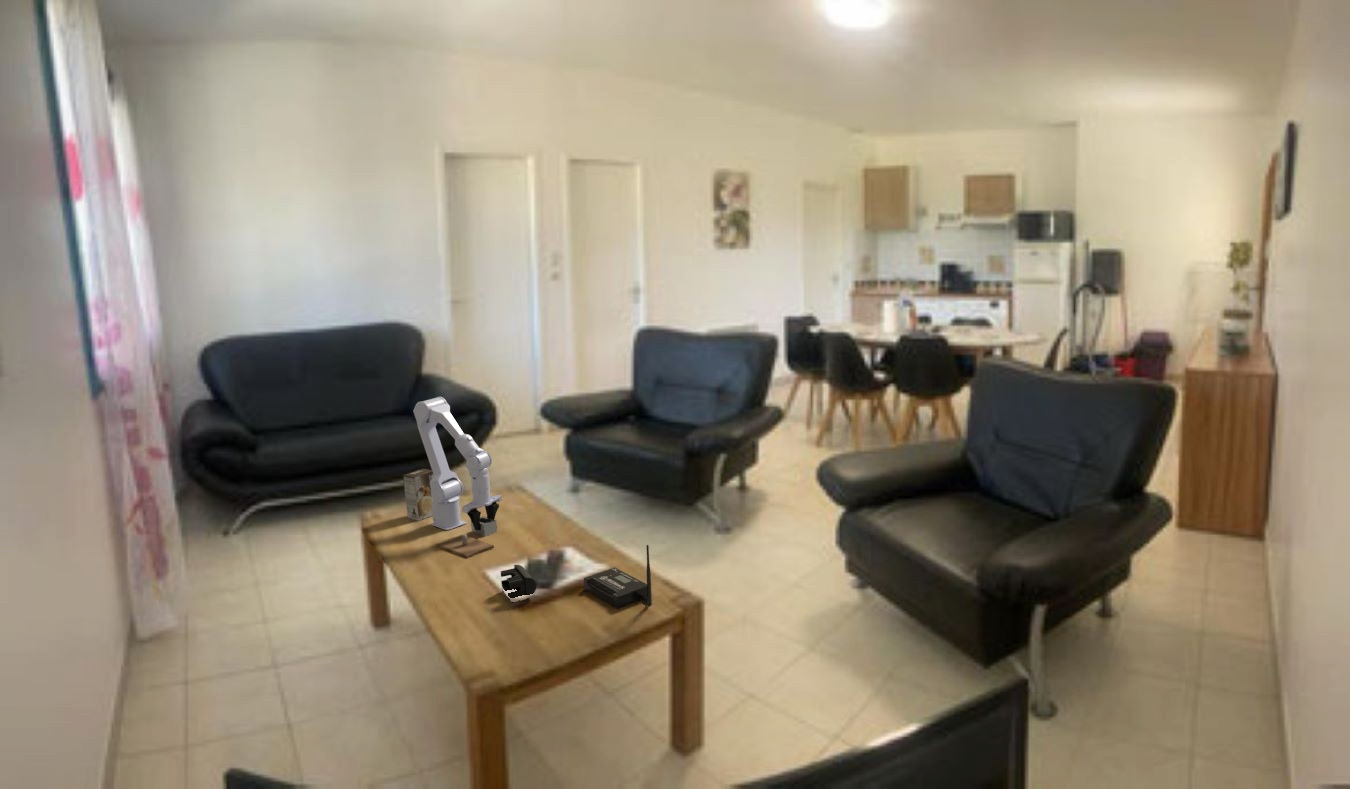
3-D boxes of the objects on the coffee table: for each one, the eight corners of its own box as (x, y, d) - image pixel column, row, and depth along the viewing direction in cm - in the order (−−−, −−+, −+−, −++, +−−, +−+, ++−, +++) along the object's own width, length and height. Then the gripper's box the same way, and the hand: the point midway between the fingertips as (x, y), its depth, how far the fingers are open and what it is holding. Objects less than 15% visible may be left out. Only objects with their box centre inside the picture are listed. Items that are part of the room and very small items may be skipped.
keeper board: (437, 546, 255) (436, 534, 254) (463, 536, 262) (462, 525, 261) (467, 558, 245) (466, 545, 244) (493, 547, 252) (492, 535, 251)
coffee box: (427, 510, 289) (423, 467, 286) (439, 513, 285) (435, 470, 282) (406, 518, 281) (402, 474, 278) (418, 521, 278) (414, 477, 275)
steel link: (471, 531, 266) (470, 520, 266) (484, 527, 270) (483, 516, 269) (484, 536, 262) (483, 524, 261) (497, 531, 266) (496, 520, 265)
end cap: (537, 598, 216) (536, 574, 215) (512, 604, 213) (510, 580, 212) (526, 584, 225) (524, 562, 224) (501, 590, 222) (499, 567, 220)
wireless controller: (579, 593, 219) (575, 534, 216) (620, 578, 228) (617, 521, 225) (621, 618, 204) (618, 555, 201) (663, 601, 213) (661, 541, 210)
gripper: (470, 496, 255) (473, 536, 258) (506, 484, 266) (508, 523, 269) (456, 492, 260) (460, 531, 262) (492, 481, 270) (495, 519, 273)
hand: (484, 527), depth 266 cm, fingers closed on steel link, 5 cm apart
